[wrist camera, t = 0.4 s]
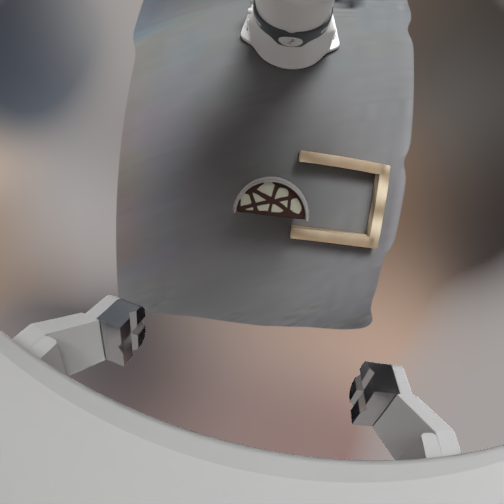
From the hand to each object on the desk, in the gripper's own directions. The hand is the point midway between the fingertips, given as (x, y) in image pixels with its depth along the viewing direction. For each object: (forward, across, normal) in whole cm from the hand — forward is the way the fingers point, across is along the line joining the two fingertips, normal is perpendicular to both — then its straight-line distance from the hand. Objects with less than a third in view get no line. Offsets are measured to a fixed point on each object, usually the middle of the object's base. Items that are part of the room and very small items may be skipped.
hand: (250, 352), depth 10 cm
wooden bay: (+46, -9, 0) cm, 47 cm away
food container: (+46, +3, +1) cm, 46 cm away
